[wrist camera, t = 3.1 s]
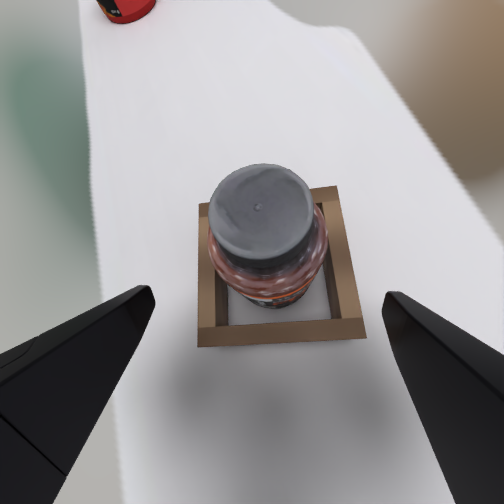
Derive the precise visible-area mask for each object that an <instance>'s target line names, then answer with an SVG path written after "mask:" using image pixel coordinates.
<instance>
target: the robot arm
mask: <svg viewBox="0 0 504 504" xmlns="http://www.w3.org/2000/svg"><path fill="white" fill-rule="evenodd" d="M154 308H155V299H154V296H153V293H152V290H151V288H150V286H148V285H138V286H136V287H134V288H132V289H130V290H128V291H126V292H124V293H122V294H120V295H118V296H116V297H114V298H112V299H110V300H108V301H106V302H104V303H102V304H100V305H98V306H96V307H94V308H92V309H90V310H88V311H86V312H84V313H82V314H80V315H78V316H77V317H74V318H72V319H70V320H68V321H66V322H65V323H62V324H60V325H58V326H56V327H55V328H52V329H50V330H48V331H46V332H44V333H42V334H40V335H39V336H37V337H34V338H32V339H30V340H28V341H26V342H24V343H22V344H21V345H18V346H16V347H14V348H12V349H10V350H8V351H6V352H4V353H2V354H0V504H53V502H54V500H55V499H56V497H57V495H58V493H59V491H60V489H61V487H62V486H63V483H64V482H65V480H66V476H68V474H69V472H70V470H71V468H72V467H73V465H74V463H75V461H76V459H77V458H78V456H79V454H80V452H81V450H82V448H83V446H84V445H85V443H86V441H87V439H88V437H89V435H90V433H91V432H92V430H93V428H94V426H95V424H96V422H97V420H98V418H99V417H100V415H101V413H102V411H103V409H104V407H105V406H106V404H107V402H108V400H109V398H110V396H111V395H112V393H113V391H114V389H115V387H116V385H117V384H118V382H119V380H120V378H121V376H122V374H123V372H124V371H125V369H126V367H127V365H128V363H129V361H130V359H131V358H132V356H133V354H134V352H135V350H136V348H137V347H138V345H139V343H140V341H141V338H142V336H143V334H144V332H145V329H146V327H147V324H148V322H149V320H150V317H151V315H152V313H153V310H154ZM382 317H383V320H384V324H385V327H386V331H387V334H388V338H389V341H390V345H391V348H392V351H393V354H394V357H395V360H396V363H397V365H398V367H399V370H400V372H401V375H402V377H403V379H404V382H405V384H406V386H407V389H408V391H409V394H410V396H411V398H412V401H413V403H414V406H415V408H416V410H417V413H418V415H419V418H420V420H421V422H422V425H423V427H424V429H425V432H426V434H427V437H428V439H429V441H430V444H431V446H432V449H433V451H434V453H435V456H436V458H437V460H438V463H439V465H440V468H441V470H442V472H443V475H444V477H445V480H446V482H447V484H448V487H449V489H450V491H451V494H452V496H453V499H454V501H455V503H456V504H504V355H503V354H501V353H500V352H498V351H496V350H495V349H493V348H491V347H490V346H488V345H487V344H485V343H483V342H482V341H480V340H478V339H477V338H475V337H474V336H472V335H470V334H469V333H467V332H465V331H464V330H462V329H461V328H459V327H457V326H456V325H454V324H452V323H451V322H449V321H448V320H446V319H444V318H443V317H441V316H439V315H438V314H436V313H434V312H433V311H431V310H430V309H428V308H426V307H425V306H423V305H421V304H420V303H418V302H417V301H415V300H413V299H412V298H410V297H408V296H407V295H405V294H404V293H402V292H399V291H388V292H387V293H386V295H385V299H384V303H383V307H382Z"/></svg>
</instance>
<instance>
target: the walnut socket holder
mask: <svg viewBox="0 0 504 504" xmlns="http://www.w3.org/2000/svg"><path fill="white" fill-rule="evenodd" d="M309 190H310V192H311V195H312V198H313V201H314V202H315V204H316V205H317V206H318V207H319V209H320V211H321V213H322V215H323V216H324V219H325V222H326V227H327V231H328V246H327V251H326V255H325V258H324V260H323V267H324V274H325V280H326V286H327V293H328V299H329V305H330V312H331V318H332V319H327V320H312V321H296V322H281V323H265V324H250V325H234V326H228V298H227V283H226V282H225V281H224V280H223V279H222V278H221V277H220V276H219V274H218V273H217V271H216V270H215V268H214V267H213V265H212V262H211V260H210V257H209V253H208V248H207V233H208V228H209V220H208V210H209V204H210V202H208V203H201V204H199V238H198V343H197V347H215V346H234V345H252V344H271V343H290V342H308V341H327V340H346V339H365V338H367V337H366V332H365V327H364V321H363V316H362V311H361V306H360V301H359V296H358V291H357V286H356V281H355V276H354V271H353V266H352V261H351V256H350V251H349V246H348V241H347V236H346V231H345V225H344V220H343V215H342V210H341V205H340V200H339V195H338V190H337V186H329V187H322V188H314V189H309Z"/></svg>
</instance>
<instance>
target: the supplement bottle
mask: <svg viewBox="0 0 504 504" xmlns="http://www.w3.org/2000/svg"><path fill="white" fill-rule="evenodd" d="M208 220H209V228H208V233H207V248H208V253H209V257H210V260H211V262H212V265H213V267H214V268H215V270H216V271H217V273H218V274H219V276H220V277H221V278H222V279H223V280H224V281H225V282H226V283H227V284H228V285H229V286H231V287H232V288H233V289H235V290H236V291H237V292H239V293H240V294H242V295H243V296H245V297H246V298H247V299H249V300H250V301H252V302H253V303H255V304H257V305H259V306H262V307H267V308H281V307H285V306H288V305H290V304H292V303H294V302H296V301H297V300H298V299H299V298H301V297H302V296H303V295H304V293H305V292H306V290H307V289H308V287H309V285H310V283H311V282H312V281H313V279H314V277H315V275H316V274H317V272H318V270H319V268H320V267H321V265H322V263H323V260H324V258H325V255H326V251H327V246H328V231H327V227H326V222H325V219H324V216H323V215H322V213H321V211H320V209H319V207H318V206H317V205H316V204H315V202H314V201H313V198H312V195H311V192H310V190H309V188H308V186H307V184H306V183H305V182H304V181H303V180H302V179H301V178H300V177H299V176H298V175H296V174H295V173H293V172H292V171H291V170H290V169H286V168H284V167H282V166H279V165H275V164H254V165H249V166H246V167H243V168H240V169H238V170H236V171H234V172H232V173H231V174H230V175H228V176H227V177H226V178H225V179H224V180H222V181H221V182H220V183H219V185H218V187H217V188H216V190H215V191H214V193H213V195H212V197H211V199H210V204H209V210H208Z"/></svg>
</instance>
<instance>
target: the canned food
mask: <svg viewBox="0 0 504 504" xmlns="http://www.w3.org/2000/svg"><path fill="white" fill-rule="evenodd" d="M96 1H97V2H98V4H99V6H100V7H101V9H102V11H103V12H104V14H105V15H106V16H107V17H108V18H109V19H110V20H111V21H113V22H115V23H129V22H133V21H135V20H138V19H140V18H141V17H143V16H144V15H146V14H147V13H148V12H149V11H150V10H151V9H152V7H153V6H154V3H155V0H96Z"/></svg>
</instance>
